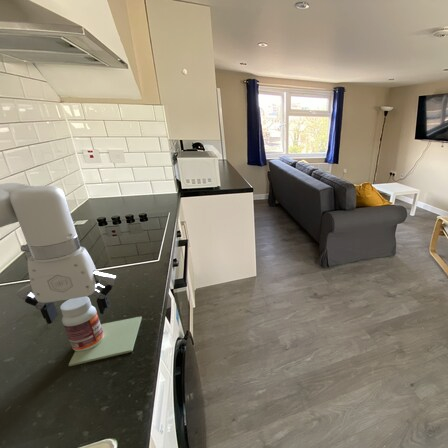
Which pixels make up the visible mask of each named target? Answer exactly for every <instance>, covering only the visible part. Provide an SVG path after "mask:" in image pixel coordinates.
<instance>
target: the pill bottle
mask: <svg viewBox="0 0 448 448" xmlns="http://www.w3.org/2000/svg"><path fill="white" fill-rule="evenodd" d="M59 309H60V312H61V315H62V317H61V323H62V326H63V328H64V331H65V334H66V336H67V338H68V341H69V344H70V346H71V348H72V350H74V351H84V350H88V349H90V348H93V347H94V346H96V345H97V344H99V343H100V342H101V341H102V339H103V337H104V333H103V329H102V327H101V324H102V323H101V320H100V318H99V314H98V311H97V308H96V307H95V306H93V305H92V302H91V299H90V297H88V296H85V297H80V298H74V299H68V300H65V301H64V302H63V303H62V304H61V305H60V306H59Z"/></svg>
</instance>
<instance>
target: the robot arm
mask: <svg viewBox="0 0 448 448" xmlns="http://www.w3.org/2000/svg"><path fill="white" fill-rule="evenodd" d="M68 204H69V203H68V200H67V197H66V194H65V192H64V190H63V189H62V188H61V187H59V186H55V185H35V186H34V185H29V184H24V183H20V182H19V183H18V182H6V183H0V228H3V227H6V226H9V225H12V224H15V223H18V225H19V226H20V230H21V231H22V235H23V237H24V240H25V242H26V244H22V245H20V251H21V252H23V253H25V252H28V253H29V255H30V257H28V258H27V272H28V278H29V282H30V283H28V284H26V285H25V286H23V287H21V288H20V289H19V290H17V291H16V293H15V295H16V296H17V297H19V298H20V299H22V300H24V302H25V303H26V304H28V305H31V306H34V308H35V309H36V310H39V311H40V313H41V315H42V318H43V319H44V320H45V321H46V324H47V325H50V324H53V323H54V321H55V320H56V319H57V317H58V316H59V313H58V310H57V307H56V305H55V303H56V302H61V301H62V302H63V301H67V300H69V299H74V298H80V297H85V296H87V297H88V296H91V295H92V296H94V297H95V298H97V299H96V305H97V307H98V311H99V314H101V315H104V314H106V311H107V309H108V308H110V300H109V297H108V294H109V293H110V291H111V290H112V289H113V287H114V284H115V282H116V281H117V275H115V274H112V273H106V272H101V271H98V270H97V268H96V265H95V263H94V261H93V259H92V257H91V255H90V254H89V252H88V250H87V248H86V247H85V246H81V243H80V240H79V239H80V238H79V236H78V234H77V230H76V227H75V224H74V223H75V222H74V219H73V217H72V214H71V210H70V208H69V205H68ZM101 281H102V282H106V284H105V286H104V285H102V284H100V283H101Z"/></svg>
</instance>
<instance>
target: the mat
mask: <svg viewBox="0 0 448 448" xmlns="http://www.w3.org/2000/svg"><path fill="white" fill-rule="evenodd" d="M142 319H143V317H142V316H136V317H130V318H127V319H119V320H115V321H111V322H105V323H100V324H101V327H102V329H103V333H104V337H103V339H102V341H101V342H100V343H99V344H97V345H96V346H94V347H93V348H90V349H88V350H84V351H76V350H74V353H73V355H72V357H71V358H70V360H69V363H68V367H73V366H77V365H80V364H81V365H82V364H87V363H90V362H94V361H99V360H102V359H107V358H113V357H116V356H120V355H124V354H129V353H132V352H133V350H134V347H135V344H136V340H137V336H138V333H139V330H140V326H141V322H142Z"/></svg>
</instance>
